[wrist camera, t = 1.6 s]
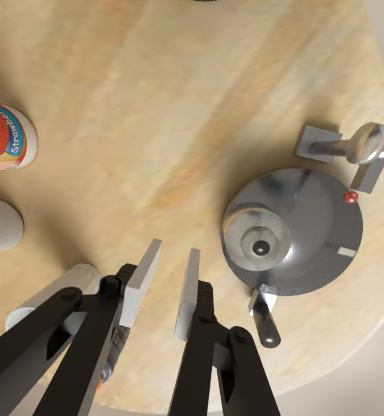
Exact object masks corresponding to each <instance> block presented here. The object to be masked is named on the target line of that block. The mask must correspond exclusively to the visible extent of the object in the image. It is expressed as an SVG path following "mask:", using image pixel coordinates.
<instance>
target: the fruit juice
mask: <svg viewBox="0 0 384 416" xmlns="http://www.w3.org/2000/svg"><path fill="white" fill-rule="evenodd" d="M37 147H38V141H37V136H36V132H35V130H34V128H33V126H32V124H31V123H30V121H29V120H28V119H27V118H26V117H25V116H24V115H23V114H22V113H20V112H19V111H17V110H16V109H14V108H11V107H9V106H6V105H3V104H0V171H3V170H12V169H18V168H21V167H24V166H26V165H27V164H29V163H30V162H31V161H32V160H33V159H34V157H35V155H36V152H37Z"/></svg>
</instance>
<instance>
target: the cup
mask: <svg viewBox="0 0 384 416" xmlns="http://www.w3.org/2000/svg"><path fill="white" fill-rule="evenodd" d="M101 279H102V277H101V274H100V273H99V271H98V270H97V269H96V268H95V267H93V266H91V265H89V264H85V263H80V264H76V265H74V266H73V267H72V268H71V269H70V270H68V271H67V272H66V273H64V274H63V275H62V276H60V277H59V278H57V279H56V280H55V281H53V282H52V283H51V284H49V285H48V286H47V287H45V288H44V289H42V290H41V291H40V292H38V293H37V294H36V295H34V296H33V297H31V298H30V299H29V300H27V301H26V302H24V303H23V304H22V305H20V306H19V307H17V308H16V309H15V310H13V311H12V312H11V313H10V314H9V315H8V316H7V318H6V322H5V329H6V332H7V331H8V330H9V329H10V328H12V327H13V326H14V325H15V324H17V323H18V322H19V321H21V320H22V319H23V318H24V317H26V316H27V315H28V314H29V313H31V312H32V311H33V310H34V309H36V308H37V307H38V306H40V305H41V304H42V303H43V302H45V301H46V300H47V299H48V298H50V297H51V296H52V295H53V294H55V293H56V292H57V291H59V290H60V289H62V288H65V287H78V288H79V289H81V290H82V294H96V293H97V291H98V290H99V283H100V280H101Z"/></svg>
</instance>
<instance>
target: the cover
mask: <svg viewBox="0 0 384 416" xmlns="http://www.w3.org/2000/svg"><path fill="white" fill-rule="evenodd" d="M223 234H224V239H225V244H226V249H227V252H228V255H229V256H230V258H231V259H232V261H233V262H234V263H236V264H237V265H238V266H240V267H242V268H244V269H247V270H251V271H263V270H267V269H270V268H273V267H274V266H276V265H278V264H279V263H280V262H281V261H283V260H284V258H285V257H286V256H287V254H288V252H289V250H290V247H291V233H290V230H289V228H288V226H287V224H286V223H285V222H284V221H283V220H282V219H281V218H280V217H279V216H278V215H277V214H276V213H275V212H274V211H273V210H272V209H270V208H269V207H268V206H266V205H264V204H262V203H259V202H245V203H242V204H239V205H237V206H236V207H234V208H233V209H232V210H231V211H230V212H229V213H228V214H227V216H226V218H225V220H224V223H223Z"/></svg>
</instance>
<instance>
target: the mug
mask: <svg viewBox="0 0 384 416" xmlns="http://www.w3.org/2000/svg"><path fill="white" fill-rule="evenodd" d="M23 231H24V227H23V222H22V219H21V217H20V215H19V214H18V212H17V211H16V210H15V209H14V208H13V207H12V206H10V205H9V204H7V203H6V202H4V201H1V200H0V252H1V251H4V250H6V249H9V248H11V247H13V246H15V245H16V244H17V243H18V242H19V241H20V240H21V238H22V236H23Z"/></svg>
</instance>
